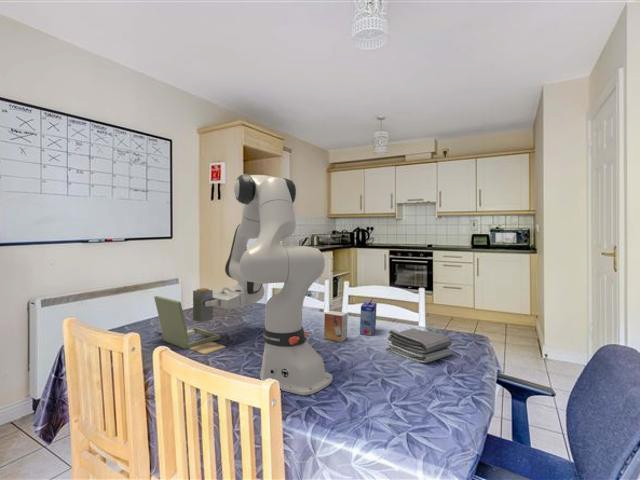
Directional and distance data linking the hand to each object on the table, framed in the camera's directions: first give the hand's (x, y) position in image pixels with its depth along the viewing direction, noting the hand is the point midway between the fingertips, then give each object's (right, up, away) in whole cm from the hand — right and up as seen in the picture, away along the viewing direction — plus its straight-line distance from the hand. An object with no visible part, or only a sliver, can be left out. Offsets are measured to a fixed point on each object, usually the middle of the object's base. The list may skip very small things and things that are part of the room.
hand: (199, 303), depth 125 cm
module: (+1, -6, +1) cm, 7 cm away
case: (-7, -16, +8) cm, 19 cm away
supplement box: (-19, -16, +17) cm, 30 cm away
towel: (+80, -17, -4) cm, 82 cm away
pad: (+4, -16, -1) cm, 17 cm away
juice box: (+66, -16, +20) cm, 70 cm away
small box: (+51, -17, +10) cm, 55 cm away
